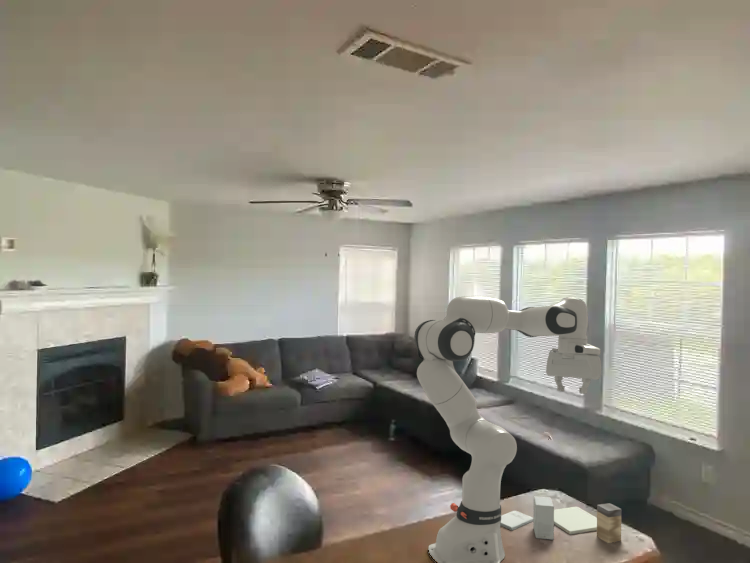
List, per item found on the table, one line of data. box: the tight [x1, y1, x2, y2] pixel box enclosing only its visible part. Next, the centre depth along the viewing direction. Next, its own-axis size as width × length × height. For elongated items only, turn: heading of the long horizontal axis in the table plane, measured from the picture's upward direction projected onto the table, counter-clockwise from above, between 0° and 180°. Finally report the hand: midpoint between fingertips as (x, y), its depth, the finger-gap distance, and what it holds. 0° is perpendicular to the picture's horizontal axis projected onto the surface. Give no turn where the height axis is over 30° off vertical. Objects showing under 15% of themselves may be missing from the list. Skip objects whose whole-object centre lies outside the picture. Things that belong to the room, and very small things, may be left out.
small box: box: [532, 495, 555, 541], centre depth 173 cm, size 8×6×10 cm
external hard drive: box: [500, 509, 534, 531], centre depth 182 cm, size 2×8×12 cm
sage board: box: [554, 506, 597, 535], centre depth 183 cm, size 16×16×1 cm
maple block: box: [596, 502, 622, 544], centre depth 170 cm, size 5×5×10 cm
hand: (571, 392), depth 170 cm, fingers open, 8 cm apart
